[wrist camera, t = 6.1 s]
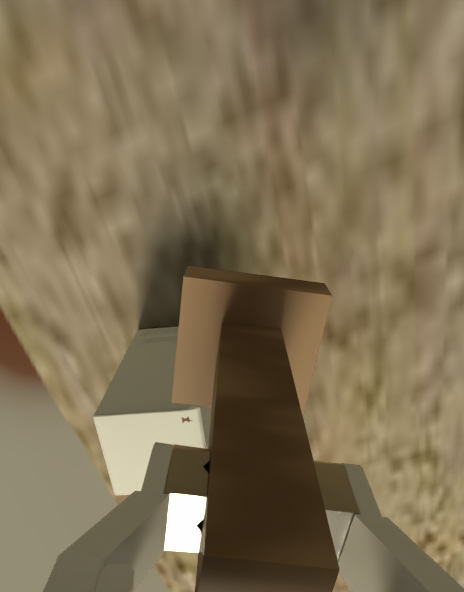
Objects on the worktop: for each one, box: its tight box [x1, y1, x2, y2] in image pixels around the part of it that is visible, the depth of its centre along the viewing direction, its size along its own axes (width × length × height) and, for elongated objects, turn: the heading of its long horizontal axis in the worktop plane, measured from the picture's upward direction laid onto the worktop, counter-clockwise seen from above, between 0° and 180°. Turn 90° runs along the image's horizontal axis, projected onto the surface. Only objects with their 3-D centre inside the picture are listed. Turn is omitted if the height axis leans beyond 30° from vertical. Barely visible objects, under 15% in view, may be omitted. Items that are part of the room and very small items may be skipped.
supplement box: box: [93, 326, 212, 495], centre depth 33 cm, size 7×7×13 cm
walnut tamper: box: [172, 266, 340, 592], centre depth 13 cm, size 6×6×12 cm
